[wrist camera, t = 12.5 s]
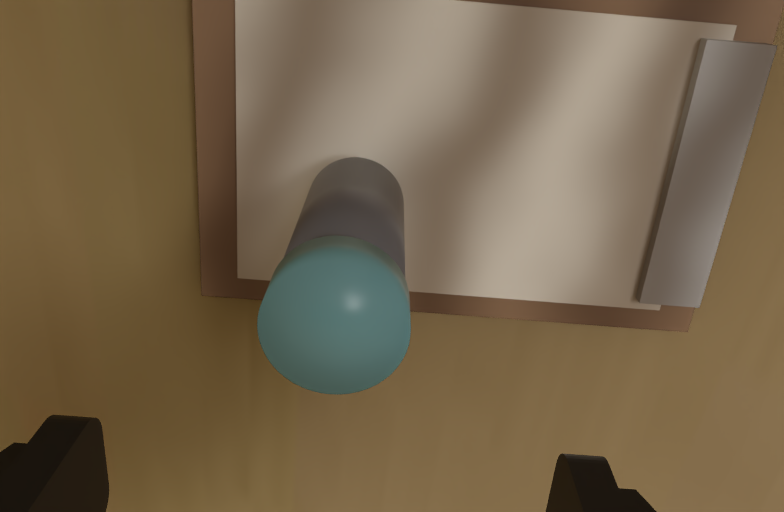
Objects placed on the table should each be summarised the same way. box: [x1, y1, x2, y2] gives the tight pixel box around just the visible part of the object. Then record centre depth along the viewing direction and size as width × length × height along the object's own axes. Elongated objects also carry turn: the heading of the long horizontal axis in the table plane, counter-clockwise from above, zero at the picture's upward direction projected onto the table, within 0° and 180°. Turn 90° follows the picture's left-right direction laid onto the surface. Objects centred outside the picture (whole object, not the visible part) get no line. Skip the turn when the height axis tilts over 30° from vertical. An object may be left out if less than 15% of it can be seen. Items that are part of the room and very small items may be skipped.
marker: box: [257, 157, 411, 394], centre depth 21 cm, size 4×4×10 cm
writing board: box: [192, 0, 784, 332], centre depth 25 cm, size 20×13×2 cm, turn 85°
